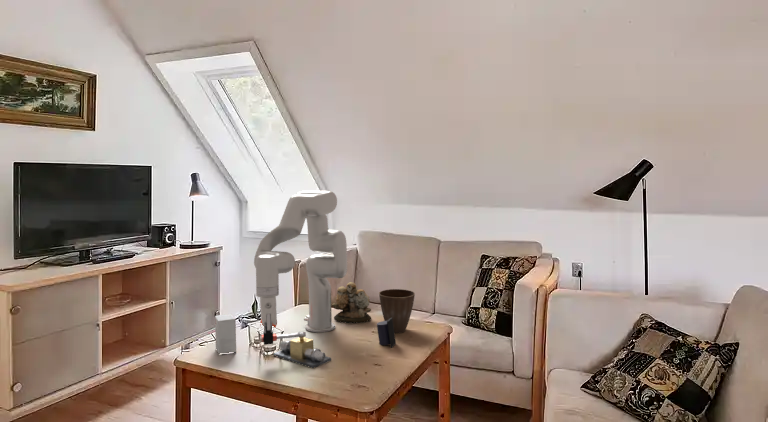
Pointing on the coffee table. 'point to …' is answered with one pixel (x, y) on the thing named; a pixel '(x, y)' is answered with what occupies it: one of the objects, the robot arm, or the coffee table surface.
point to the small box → (225, 333)
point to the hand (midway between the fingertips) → (268, 343)
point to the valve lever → (286, 336)
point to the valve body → (302, 352)
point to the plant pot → (397, 307)
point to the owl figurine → (352, 305)
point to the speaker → (386, 333)
